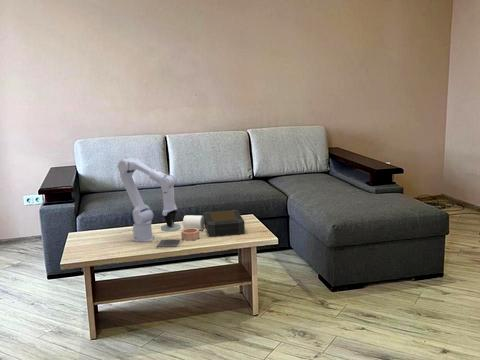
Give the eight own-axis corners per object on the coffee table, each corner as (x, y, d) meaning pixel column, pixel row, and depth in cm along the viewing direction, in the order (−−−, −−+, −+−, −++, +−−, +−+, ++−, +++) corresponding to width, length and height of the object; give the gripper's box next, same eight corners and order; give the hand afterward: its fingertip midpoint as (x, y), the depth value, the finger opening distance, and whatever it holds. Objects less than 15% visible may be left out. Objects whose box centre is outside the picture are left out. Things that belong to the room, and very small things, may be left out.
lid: (158, 231, 253) (157, 222, 252) (164, 225, 262) (164, 217, 261) (177, 231, 251) (176, 222, 250) (183, 225, 260) (182, 217, 259)
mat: (157, 247, 252) (157, 246, 252) (161, 240, 262) (161, 239, 262) (176, 246, 252) (176, 245, 252) (180, 240, 262) (180, 239, 261)
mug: (200, 231, 275) (199, 217, 273) (183, 231, 277) (182, 217, 276) (206, 225, 287) (205, 212, 285) (189, 225, 289) (188, 211, 287)
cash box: (246, 234, 268) (246, 220, 267) (208, 237, 265) (208, 223, 264) (238, 221, 293) (238, 208, 291) (204, 224, 289) (203, 211, 288)
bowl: (180, 240, 261) (180, 233, 260) (183, 235, 270) (183, 228, 269) (198, 240, 261) (197, 233, 260) (200, 235, 269) (199, 227, 269)
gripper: (171, 203, 246) (173, 229, 248) (181, 196, 259) (182, 221, 262) (157, 203, 247) (159, 229, 250) (168, 196, 261) (169, 221, 264)
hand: (170, 225), depth 256 cm, fingers closed on lid, 2 cm apart
